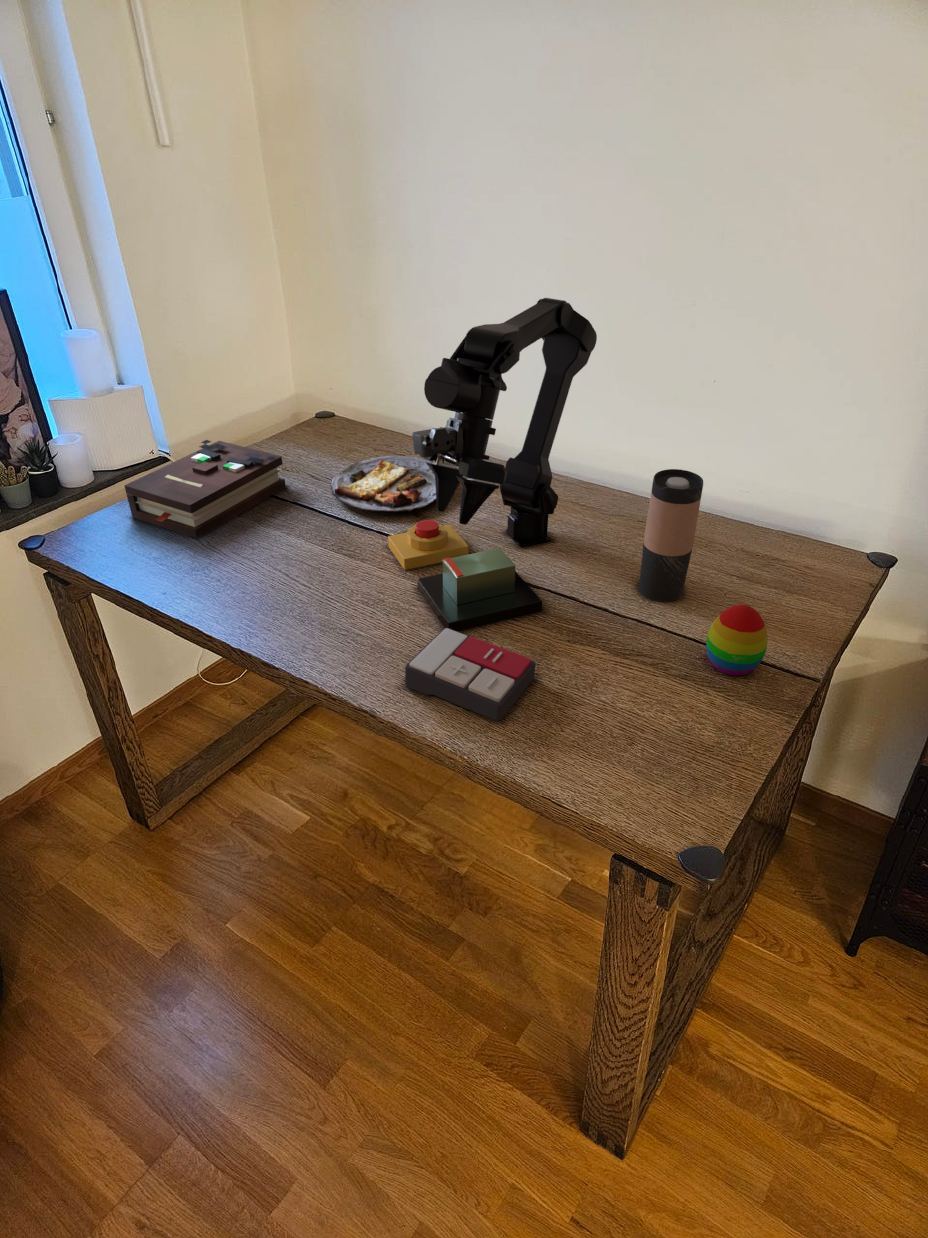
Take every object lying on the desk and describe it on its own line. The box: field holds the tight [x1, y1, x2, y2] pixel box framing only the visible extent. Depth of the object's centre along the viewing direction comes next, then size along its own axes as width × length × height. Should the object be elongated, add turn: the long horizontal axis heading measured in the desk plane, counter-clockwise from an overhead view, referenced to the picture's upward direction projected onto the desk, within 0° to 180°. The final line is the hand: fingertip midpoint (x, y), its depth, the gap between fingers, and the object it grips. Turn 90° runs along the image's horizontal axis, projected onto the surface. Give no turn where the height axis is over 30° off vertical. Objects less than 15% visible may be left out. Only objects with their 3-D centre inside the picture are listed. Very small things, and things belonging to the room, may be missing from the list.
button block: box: [387, 523, 470, 571], centre depth 144 cm, size 12×9×4 cm
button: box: [415, 519, 440, 538], centre depth 142 cm, size 4×4×2 cm
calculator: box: [404, 627, 536, 722], centre depth 113 cm, size 11×4×15 cm
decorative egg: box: [705, 603, 768, 677], centre depth 114 cm, size 8×8×10 cm
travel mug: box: [638, 468, 704, 603], centre depth 128 cm, size 8×8×20 cm
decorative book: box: [123, 439, 287, 539], centre depth 159 cm, size 19×8×30 cm
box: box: [442, 547, 516, 605], centre depth 129 cm, size 10×6×5 cm, turn 113°
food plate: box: [330, 455, 436, 514], centre depth 164 cm, size 25×23×4 cm
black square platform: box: [416, 570, 543, 632], centre depth 131 cm, size 16×14×2 cm
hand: (451, 517), depth 125 cm, fingers open, 9 cm apart
